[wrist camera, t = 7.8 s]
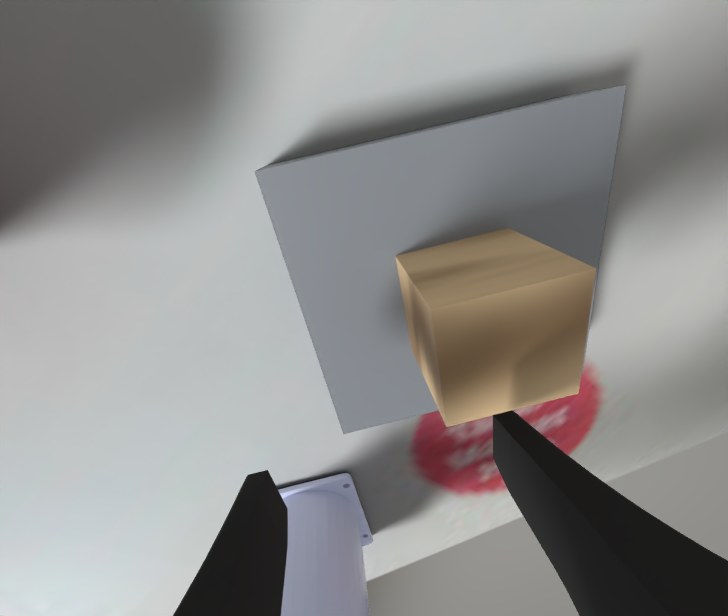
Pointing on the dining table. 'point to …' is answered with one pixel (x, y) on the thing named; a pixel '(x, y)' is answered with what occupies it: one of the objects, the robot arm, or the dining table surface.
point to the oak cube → (496, 322)
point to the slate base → (430, 227)
